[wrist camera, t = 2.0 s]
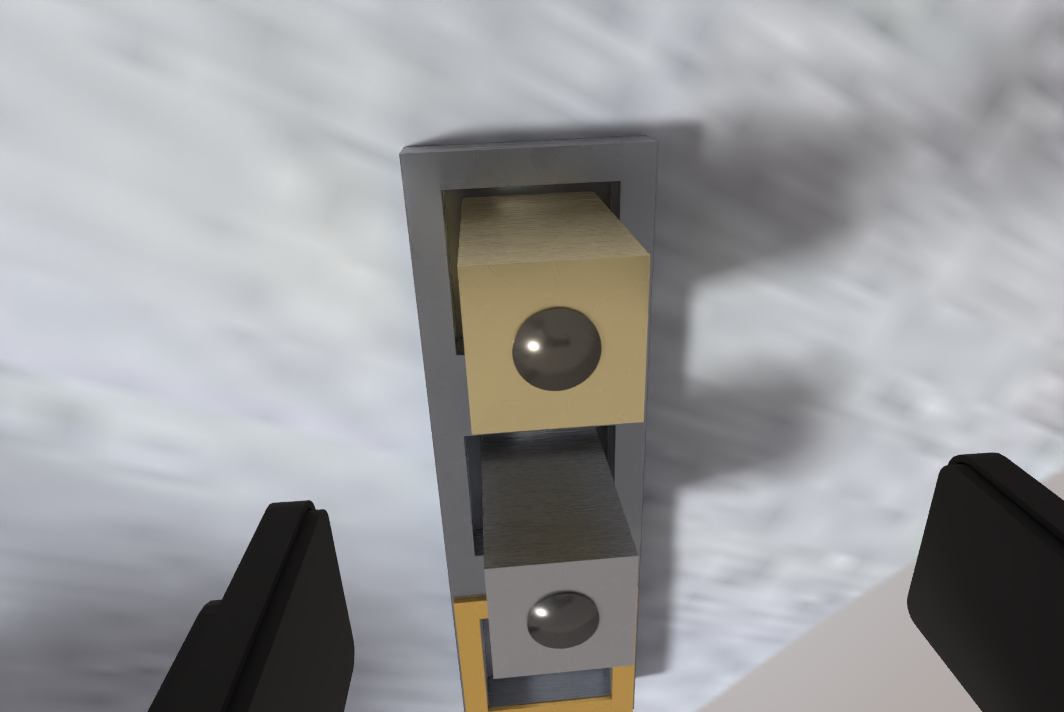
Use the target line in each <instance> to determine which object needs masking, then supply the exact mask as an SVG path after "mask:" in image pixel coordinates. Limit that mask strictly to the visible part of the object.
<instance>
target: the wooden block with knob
mask: <svg viewBox="0 0 1064 712" xmlns="http://www.w3.org/2000/svg"><path fill="white" fill-rule="evenodd" d="M457 270H458V281H459V293H460V304H461V316H462V327H463V339H464V350H465V361H466V373H467V384H468V396H469V407H470V419H471V430H472V435H476V434H489V433H503V432H516V431H529V430H543V429H556V428H570V427H583V426H596V425H610V424H623V423H637V422H644V403H645V378H646V353H647V328H648V304H649V279H650V254H649V253H648V252H647V251H646V250H645V249H644V247H643V246H642V245H641V244H640V243H639V242H638V241H637V240H636V238H635V237H634V236H633V235H632V234H631V233H630V232H629V231H628V229H627V228H626V227H625V226H624V225H623V224H622V223H621V222H620V220H619V219H618V218H617V217H616V216H615V215H614V214H613V213H612V211H611V210H610V209H609V208H608V207H607V206H606V205H605V204H604V202H603V201H602V200H601V199H600V198H599V197H598V196H597V195H596V193H595V192H594V191H584V192H565V193H547V194H528V195H509V196H490V197H472V198H462V207H461V221H460V235H459V249H458V263H457Z"/></svg>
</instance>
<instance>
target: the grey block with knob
mask: <svg viewBox="0 0 1064 712" xmlns="http://www.w3.org/2000/svg"><path fill="white" fill-rule="evenodd" d="M481 467H482V506H483V546H484V574H485V585H486V597H487V609H488V620H489V632H490V643H491V655H492V666H493V678H494V679H498V678H509V677H519V676H529V675H539V674H549V673H560V672H570V671H580V670H590V669H600V668H610V667H621V666H631V665H634V655H635V631H636V607H637V583H638V559H639V555H638V552H637V549H636V546H635V543H634V540H633V537H632V534H631V531H630V528H629V525H628V522H627V519H626V516H625V513H624V510H623V507H622V504H621V501H620V498H619V495H618V492H617V489H616V486H615V483H614V480H613V478H612V475H611V472H610V469H609V466H608V463H607V460H606V457H605V454H604V451H603V448H602V445H601V442H600V439H599V436H598V433H597V430H596V427H582V428H568V429H555V430H541V431H528V432H515V433H501V434H488V435H481Z"/></svg>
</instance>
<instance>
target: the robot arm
mask: <svg viewBox="0 0 1064 712" xmlns="http://www.w3.org/2000/svg"><path fill="white" fill-rule="evenodd" d="M907 605H908V610H909V614H910V616H911V619H912V620H913V622H914V624H915V625H916V626H917V628H918V629H919V630H920V632H921V633H922V634H923V635H924V637H925V638H926V639H927V640H928V642H929V643H930V645H931V646H932V647H933V648H934V650H935V651H936V652H937V654H938V655H939V656H940V657H941V659H942V660H943V661H944V662H945V664H946V665H947V667H948V668H949V669H950V670H951V672H952V673H953V674H954V676H955V677H956V678H957V679H958V681H959V682H960V683H961V685H962V686H963V687H964V689H965V690H966V691H967V692H968V694H969V695H970V696H971V698H972V699H973V700H974V701H975V703H976V704H977V705H978V707H979V708H980V709H981V711H982V712H1064V500H1062V499H1061V498H1060V497H1058V496H1057V495H1056V494H1054V493H1053V492H1052V491H1050V490H1049V489H1048V488H1046V487H1045V486H1044V485H1042V484H1041V483H1040V482H1038V481H1037V480H1036V479H1034V478H1033V477H1032V476H1030V475H1029V474H1028V473H1026V472H1025V471H1024V470H1022V469H1021V468H1020V467H1018V466H1017V465H1016V464H1014V463H1013V462H1012V461H1010V460H1009V459H1008V458H1006V457H1005V456H1003V455H1001V454H999V453H978V454H964V455H957V456H954V457H953V458H952V459H951V460H950V461H949V463H948V465H947V466H944V467H943V468H942V469H941V470H940V473H939V475H938V479H937V483H936V487H935V491H934V495H933V499H932V503H931V507H930V511H929V515H928V519H927V522H926V526H925V530H924V534H923V538H922V542H921V546H920V550H919V554H918V558H917V562H916V566H915V569H914V573H913V577H912V581H911V585H910V589H909V593H908V598H907ZM353 666H354V641H353V636H352V631H351V626H350V621H349V616H348V611H347V606H346V601H345V596H344V591H343V586H342V581H341V576H340V571H339V566H338V561H337V556H336V551H335V546H334V541H333V536H332V531H331V526H330V521H329V517H328V513H327V511H326V510H324V509H321V510H316V509H315V506H314V504H313V502H312V501H310V500H307V501H293V502H279V503H272V504H270V505H269V506H268V508H267V509H266V511H265V513H264V515H263V517H262V519H261V521H260V523H259V525H258V527H257V529H256V531H255V533H254V535H253V537H252V540H251V542H250V544H249V546H248V548H247V550H246V552H245V554H244V556H243V558H242V560H241V562H240V564H239V566H238V568H237V570H236V572H235V574H234V576H233V578H232V580H231V582H230V584H229V586H228V588H227V590H226V592H225V594H224V596H223V599H222V600H213V601H210V602H209V603H207V604H206V605H204V607H203V608H202V610H201V611H200V613H199V614H198V616H197V618H196V620H195V622H194V624H193V626H192V628H191V630H190V631H189V633H188V635H187V637H186V639H185V641H184V643H183V645H182V647H181V649H180V651H179V653H178V655H177V656H176V658H175V660H174V662H173V664H172V666H171V668H170V670H169V672H168V674H167V676H166V678H165V679H164V681H163V683H162V685H161V687H160V689H159V691H158V693H157V695H156V697H155V699H154V701H153V702H152V704H151V706H150V708H149V710H148V712H344V709H345V704H346V699H347V695H348V690H349V686H350V681H351V676H352V672H353Z"/></svg>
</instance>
